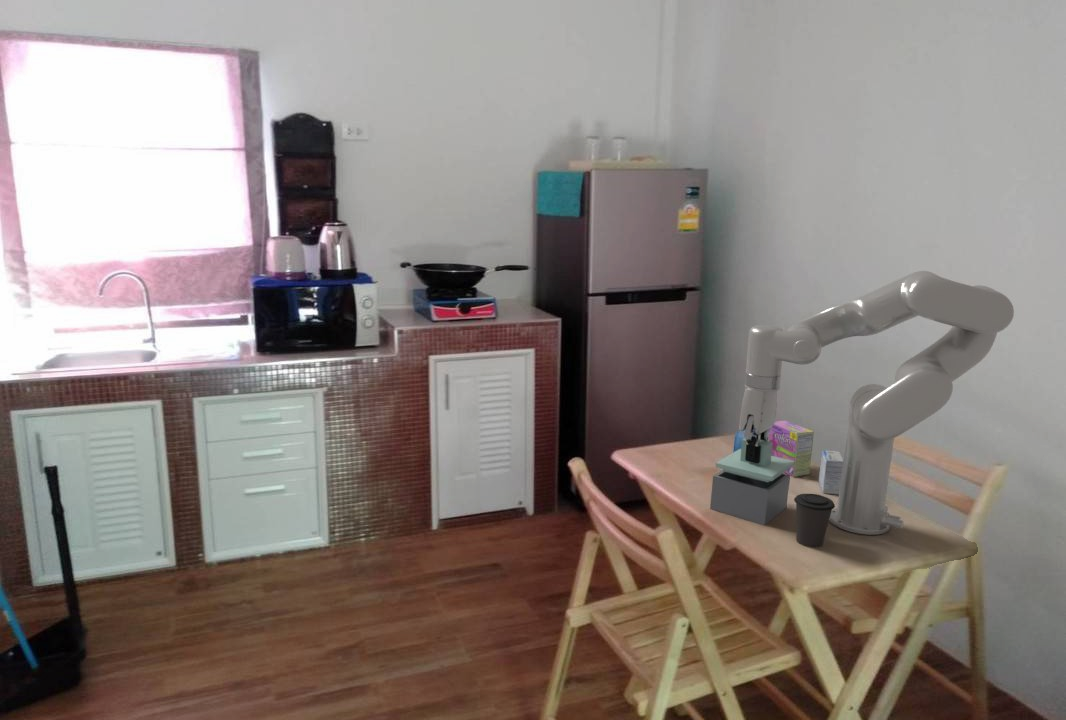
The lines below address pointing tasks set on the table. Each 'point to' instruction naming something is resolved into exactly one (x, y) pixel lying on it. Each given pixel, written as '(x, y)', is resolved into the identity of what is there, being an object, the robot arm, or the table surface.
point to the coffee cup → (812, 518)
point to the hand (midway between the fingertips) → (755, 459)
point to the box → (792, 446)
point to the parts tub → (749, 496)
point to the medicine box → (830, 472)
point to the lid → (760, 471)
